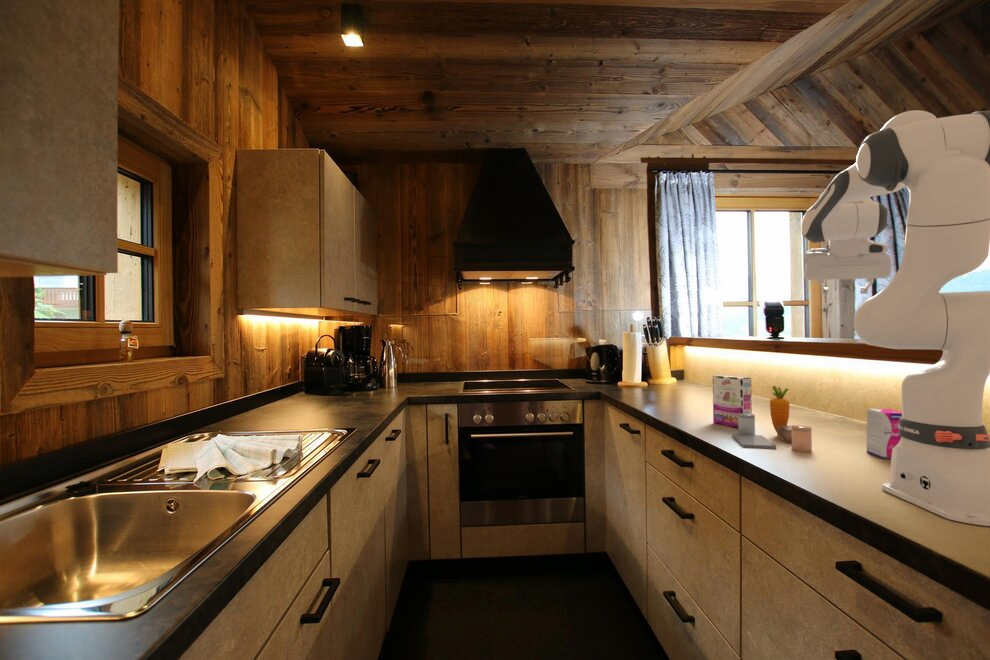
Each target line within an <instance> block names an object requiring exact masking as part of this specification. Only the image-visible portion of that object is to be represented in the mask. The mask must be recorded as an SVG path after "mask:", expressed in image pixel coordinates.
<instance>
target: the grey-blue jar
mask: <svg viewBox="0 0 990 660" xmlns="http://www.w3.org/2000/svg"><path fill="white" fill-rule="evenodd" d="M737 429H738V434H739V435H756V415H755V414H754V413H752V414H750V413H739V414H738V428H737Z"/></svg>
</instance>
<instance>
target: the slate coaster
mask: <svg viewBox="0 0 990 660" xmlns="http://www.w3.org/2000/svg"><path fill="white" fill-rule="evenodd" d="M731 437H732V439H734V440H735V441H736V442H737V443H738V444H739V445H740V447H742V448H748V449H749V448H751V449H768V450H769V449H772V450H773V449H774V450H776V449H777V445H775V444H774V443H773V442H771V440H769V439H768V438H766V437H765V436H763V434H762V435H761V434H755V435H739V433H738V434H735V433H733V434H731Z"/></svg>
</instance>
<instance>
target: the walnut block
mask: <svg viewBox="0 0 990 660" xmlns="http://www.w3.org/2000/svg"><path fill="white" fill-rule="evenodd" d="M791 426H792V425H787V426H777V432H776V433H777V434H776V439H777V440H778V441H781V442H784V443H787V444H791V445H792V427H791Z"/></svg>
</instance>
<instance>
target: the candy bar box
mask: <svg viewBox="0 0 990 660" xmlns="http://www.w3.org/2000/svg"><path fill="white" fill-rule="evenodd" d="M752 404H753V403H752V377H750V376H737V375H725V374H724V375H722V374H721V375H720V374H717V375H712V407H713V408H712V411H713V412H712V413H713V414H712V415H713V416H712V417H713V423H714V424H716V425H720V426H725V427H731V428H736V429H738V414H739V413H750V414H753V413H752Z"/></svg>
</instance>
